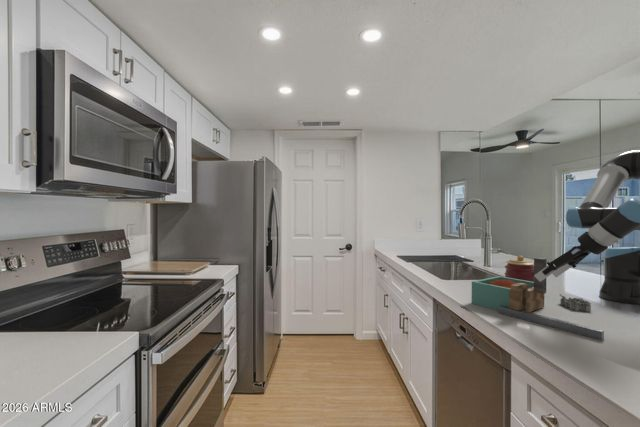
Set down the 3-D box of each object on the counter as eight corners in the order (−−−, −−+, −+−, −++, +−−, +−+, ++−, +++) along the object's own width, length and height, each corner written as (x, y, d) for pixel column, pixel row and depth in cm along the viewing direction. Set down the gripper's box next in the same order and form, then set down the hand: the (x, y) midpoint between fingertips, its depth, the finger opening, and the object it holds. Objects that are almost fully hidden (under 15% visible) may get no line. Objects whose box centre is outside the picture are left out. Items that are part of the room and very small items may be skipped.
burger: (489, 298, 136) (489, 275, 136) (526, 303, 128) (526, 279, 128) (484, 305, 126) (485, 280, 126) (524, 311, 117) (524, 285, 117)
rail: (501, 312, 116) (501, 305, 116) (603, 338, 92) (603, 330, 92) (498, 312, 115) (498, 306, 115) (601, 340, 91) (601, 331, 91)
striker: (537, 305, 124) (537, 255, 124) (553, 308, 120) (553, 257, 120) (509, 315, 112) (509, 260, 112) (525, 319, 107) (526, 262, 107)
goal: (498, 295, 140) (498, 276, 140) (541, 305, 126) (541, 283, 126) (471, 303, 128) (471, 281, 128) (515, 314, 114) (516, 290, 114)
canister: (500, 288, 154) (500, 253, 154) (529, 290, 151) (529, 254, 151) (510, 295, 141) (510, 256, 141) (542, 297, 138) (542, 257, 138)
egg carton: (558, 303, 130) (558, 293, 130) (579, 305, 128) (579, 295, 128) (570, 310, 120) (570, 300, 120) (594, 312, 117) (594, 301, 117)
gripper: (594, 250, 93) (538, 289, 106) (620, 245, 107) (567, 280, 119) (573, 231, 98) (521, 271, 110) (600, 229, 111) (551, 265, 124)
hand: (545, 276), depth 115 cm, fingers open, 13 cm apart
